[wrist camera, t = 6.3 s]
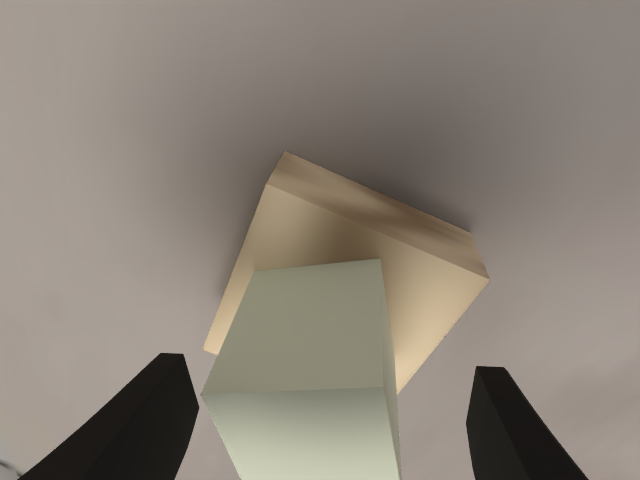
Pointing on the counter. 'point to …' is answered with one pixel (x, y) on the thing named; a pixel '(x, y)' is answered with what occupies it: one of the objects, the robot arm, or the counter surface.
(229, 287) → the maple slab
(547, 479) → the robot arm
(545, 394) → the counter surface
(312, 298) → the sage block
